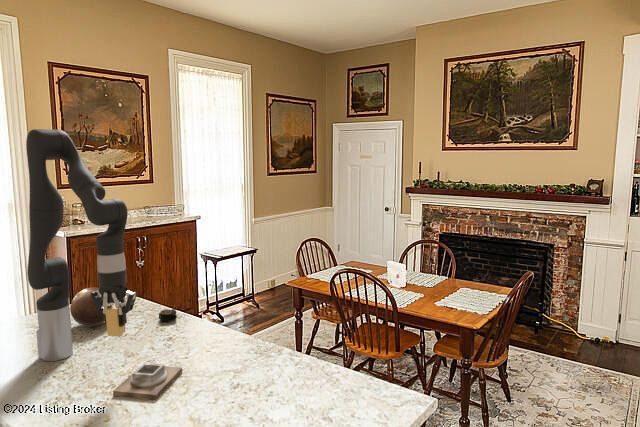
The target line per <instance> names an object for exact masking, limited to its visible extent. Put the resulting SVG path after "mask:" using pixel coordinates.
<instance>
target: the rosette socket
mask: <svg viewBox="0 0 640 427" xmlns="http://www.w3.org/2000/svg"><path fill="white" fill-rule="evenodd" d="M182 373H183V367H181V366H180V367H178V366H166V365H165V364H158V363H148V362H147V363H145V362H144V363H143V364H142V365H140V366H139V367H138V368H137V369H136V370H135V371H134V372H133V373H132V374H130V375H129V376H128V377H127V378H126V379H125V380H124V381H123V382H121V384H119V385H118V386H117V387H115V388H114V389H113V391H112V395H113V397H121V398H123V397H124V398H133V399H140V400H141V399H144V400H151V401H152V400H153V401H154V400H155V401H156V400H158V399H159V397H161V396H162V394H164V392H165V391H166V390H167V389H168V388H169V387H170V386H171V385H172V384H173V383H174V382H175V381H176V379H178V378H179V376H180V375H181V374H182ZM172 382H173V383H172Z"/></svg>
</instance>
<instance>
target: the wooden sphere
mask: <svg viewBox="0 0 640 427" xmlns="http://www.w3.org/2000/svg"><path fill="white" fill-rule="evenodd" d="M99 288H100V287H96V286H95V287H93V286H91V287H88V288H84V289H81V291H79V292H78V293H76V294H75V296H74V297H73V299H72V300H71V304H70V305H69V310H70V316H71V317H72V318H73V321H75V322H76V323H77V324H79V325H81V326H82V327H88V328H89V327H97V326H101V325H102V324H103V323H105V319H104V313H103V312H101V311H100V312H99V311H97V308H96V306H95V304H94V302H93V299H92V297H91V293H92V292H94V291H97V290H99ZM102 299H104V298H103V297H102ZM99 304H100V303H99ZM112 305H114V303H113V304H112Z"/></svg>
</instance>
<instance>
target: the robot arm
mask: <svg viewBox="0 0 640 427" xmlns="http://www.w3.org/2000/svg"><path fill="white" fill-rule="evenodd" d="M25 143H26V144H25V145H26V148H25V149H26V159H27V167H28V178H29V206H28V209H29V210H28V211H29V212H28V215H29V216H28V217H29V249H28V260H27V279H28V280H27V281H28V284H29V286H30V288H32V289H33V290H35V291H38V290H44V289H49V288H50V289H49V291H47V292H46V293H44V294H43V295H42V296H40V297H39V298H38V299H37V300H36V312H37V313H36V315H37V322H38V329H37V330H36V333H35V334H36V345H37V352H38V353H37V355H38V359H40V360H42V361H44V362H58V361H62V360H64V359H66V358H68V357H70V356H72V355H73V354H74V350H73V349H74V348H73V347H74V346H73V336H72V325H71V324H72V323H71V311H70V293H71V292H70V271H69V264H68V263H67V261H66V259H64V257H60V256H59V257H58V256H57V257H51V258H46V256H47V251H48V248H49V246H50V244H51V243H52V241H53V240H54V239H55V236H56V235H57V234H58V232H59V231H60V229H61V227H62V225H63V223H64V201H63V198H62V196H61V194H60V193H59V192H58V190H57V189H56V187H55V186H54V184H53V183H52V181H51V180H50V178H49V175H48V172H47V171H48V170H47V161H55V160H56V161H57V160H62V161H63V162H64V163H65V164H66V165H67V166H68V171H67V183H68V186H69V187H70V189H71V190H72V191H73V193H74V194H75V195H76V196H77V198H78V199H79V200H80V202H81V205H82V207H83V209H84V212H85V216H86V219H87V220H88V221H89V223H91V224H93V225H94V226H98V227H99V226H102V227H103V226H106V225H108V227H107V228H106V230H105V231H103V232H101V233H99V234H98V235H97V236H96V238H95V240H96V241H95V243H96V244H95V245H96V257H97V258H96V266H97V267H96V270H97V281H98V286H99V287H98V288H99V290H97V291H94V292H92V293H91V297H92V299H93V302H94V304H95V306H96V308H97V311H99V312H100V311H101V312H103V313H104V319H105V322H104V323H105V325H106V327H107V322H106V311H105V310H106V309H108V308H109V307H111V306H112V304H113V305H115V306H116V308H117V309H118V313H119V315H118V318H119V327H123V326H124V325H125V326H126V324H127V323H128V322H127V320H128V319H127V314H128V313H129V312H130V311H132V310H133V308H134V306H135V302H136V299H137V295H138V292H136V291H134V292H133V291H130V290H129V289H128V287H127V282H128V276H127V275H128V274H127V264H126V262H127V261H126V256H125V251H124V250H125V248H124V247H125V246H124V236H125V235H124V234H125V230H126V226H127V220H128V213H129V212H128V207H127V205H126V203H125V202H124V201H123V200H121V199H120V198H110V199H109V198H108V199H105V197H106V189H105V188H104V186H103V185H102V184H101V183H100V181H98V179H97V178H96V177H95V176H94V174H93V173H92V172H91V170H90V169H89V168H88V166H87V164H86V163H85V161H84V159H83V158H82V155H81V154H80V152H79V151H78V148H77V147H76V145H75V142H74V141H73V140H72V137H70V135H69V134H68V133H66V131H64V130H62V129H55V128H54V129H53V128H51V129H43V128H41V129H40V128H37V129H36V128H35V129H34V128H33V129H31V130H30V131H29V132H28V133H27V135H26V142H25ZM102 297H103V298H104V299H102ZM99 303H100V304H99Z"/></svg>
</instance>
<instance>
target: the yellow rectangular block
mask: <svg viewBox="0 0 640 427" xmlns="http://www.w3.org/2000/svg"><path fill="white" fill-rule="evenodd" d="M105 311H106V322H107V326H106V332H107V333H106V334H107V336H108V337H109V336H110V337H120V336H121V335H123V334H125V333H126V324H125V325H124V326H123V327H119V318H118V315H119V313H118V309H117V308H116V306H115V304H113V305H112V306H111V307H109V308H108V309H106V310H105Z"/></svg>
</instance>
